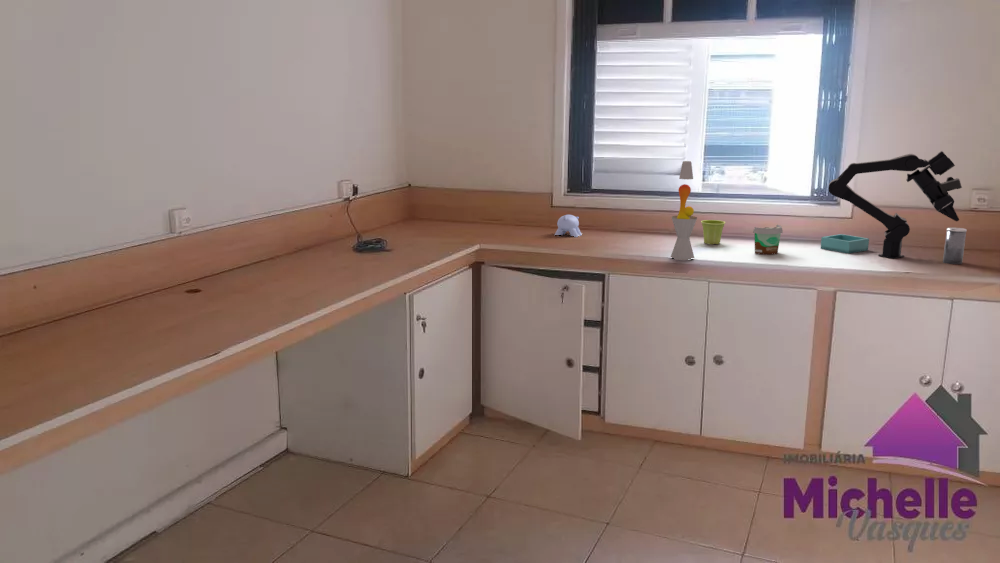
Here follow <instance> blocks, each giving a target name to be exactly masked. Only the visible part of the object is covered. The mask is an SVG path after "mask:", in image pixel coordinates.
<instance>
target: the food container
mask: <svg viewBox="0 0 1000 563" xmlns="http://www.w3.org/2000/svg"><path fill="white" fill-rule="evenodd" d="M783 231H784V230H783V226H781V225H779V224H777V225H776V226H775V227H756V226H755V227H754V228H753V232H752V233H753V234H754V254H756V255H763V256H766V255H767V256H772V255H777V254H779V252H778V251H779V246H780V242H781V234H783V233H784V232H783Z"/></svg>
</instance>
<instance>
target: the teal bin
mask: <svg viewBox="0 0 1000 563" xmlns="http://www.w3.org/2000/svg"><path fill="white" fill-rule="evenodd" d="M820 240H821V242H820V249H821V250H826V251H832V252H836V253H837V252H838V253H843V254H848V255H849V254H854V253H860V252H865V251H869V244H870V243H869V242H870V238H867V237H862V236H855V235H850V234H844V233H840V234H834V235H833V234H832V235H828V236H827V235H826V236H821V239H820Z"/></svg>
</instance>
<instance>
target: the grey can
mask: <svg viewBox="0 0 1000 563" xmlns="http://www.w3.org/2000/svg"><path fill="white" fill-rule="evenodd" d="M967 230H968V229H966V228H963V227H947V228H946V232H945V240H944V241H945V242H944V247H943V248H944V249H943V258H942V263H943V264H948V265H963V261H964V260H963V259H964V252H965V244H966V237H967V236H966V235H967Z"/></svg>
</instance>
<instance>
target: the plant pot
mask: <svg viewBox="0 0 1000 563" xmlns="http://www.w3.org/2000/svg"><path fill="white" fill-rule="evenodd" d="M700 223H701V225H702V226H701V227H702V233H703V234H702V235H703V243H704V244H706V245H714V244H715V245H719V244H721V238H722V234H723V229H724V227H725V224H726V221H724V220H718V219H705V220H701V221H700Z"/></svg>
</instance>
